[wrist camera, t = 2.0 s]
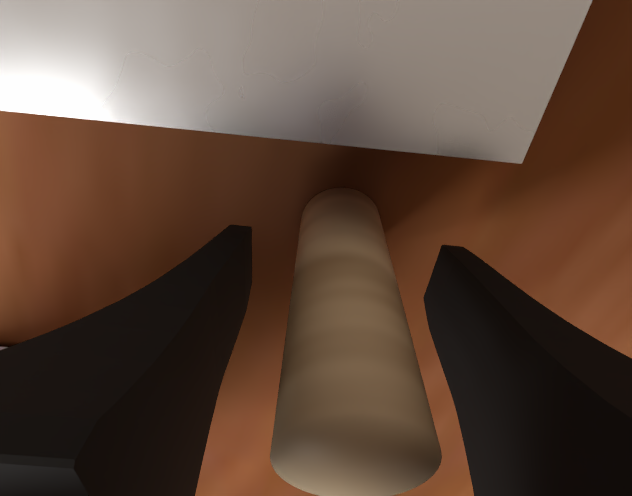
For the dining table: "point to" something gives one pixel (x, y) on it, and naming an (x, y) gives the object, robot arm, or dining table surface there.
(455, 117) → the grey square frame block
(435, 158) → the dining table surface
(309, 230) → the tan cylinder
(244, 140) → the dining table surface
